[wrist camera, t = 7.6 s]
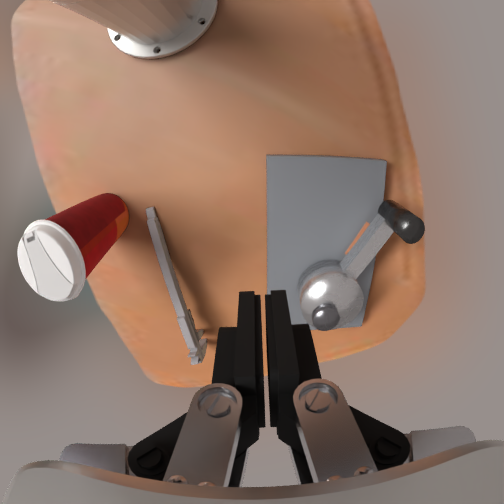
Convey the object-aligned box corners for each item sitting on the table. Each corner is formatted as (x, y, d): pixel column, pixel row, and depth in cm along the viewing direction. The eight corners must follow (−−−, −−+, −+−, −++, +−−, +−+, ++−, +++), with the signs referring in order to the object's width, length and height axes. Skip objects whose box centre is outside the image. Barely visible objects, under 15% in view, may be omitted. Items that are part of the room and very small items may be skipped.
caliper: (208, 339, 41) (202, 371, 35) (201, 340, 41) (194, 372, 35) (154, 205, 32) (134, 223, 27) (146, 208, 33) (125, 226, 27)
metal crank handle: (370, 181, 29) (397, 198, 23) (411, 217, 30) (441, 239, 24) (285, 294, 35) (291, 330, 29) (329, 317, 36) (340, 353, 30)
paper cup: (76, 195, 31) (3, 238, 19) (124, 175, 31) (53, 213, 18) (98, 250, 35) (39, 311, 22) (146, 236, 34) (93, 301, 21)
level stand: (266, 154, 30) (266, 156, 28) (381, 159, 29) (387, 161, 28) (266, 324, 39) (267, 331, 37) (358, 319, 39) (361, 326, 37)
